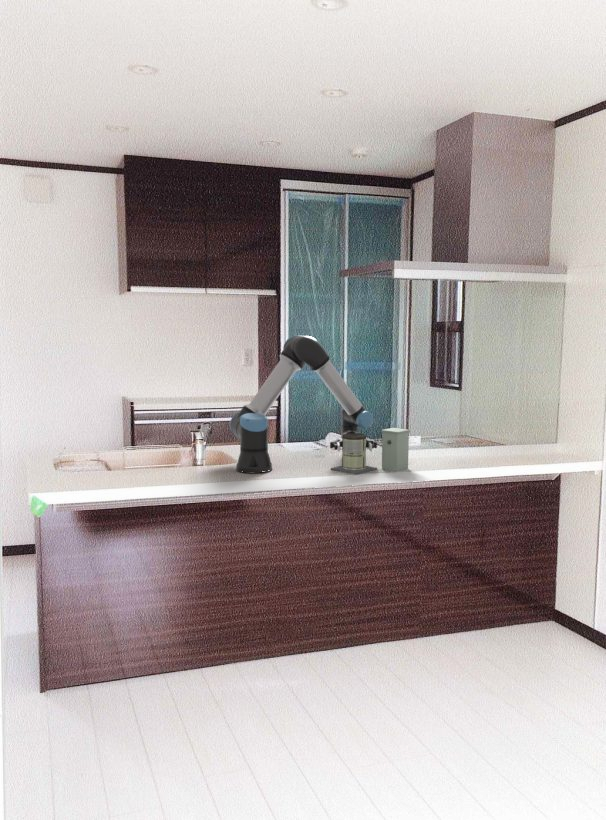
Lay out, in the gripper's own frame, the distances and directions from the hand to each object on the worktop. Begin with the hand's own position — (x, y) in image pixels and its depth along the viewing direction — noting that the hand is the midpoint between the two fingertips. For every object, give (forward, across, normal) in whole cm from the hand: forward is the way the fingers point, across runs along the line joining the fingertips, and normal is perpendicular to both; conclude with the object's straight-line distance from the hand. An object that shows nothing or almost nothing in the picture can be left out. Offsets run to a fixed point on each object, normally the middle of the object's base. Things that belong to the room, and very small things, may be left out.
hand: (355, 448), depth 309 cm
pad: (-2, 0, -10) cm, 10 cm away
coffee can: (-2, 0, -9) cm, 9 cm away
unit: (-4, -18, -10) cm, 20 cm away
